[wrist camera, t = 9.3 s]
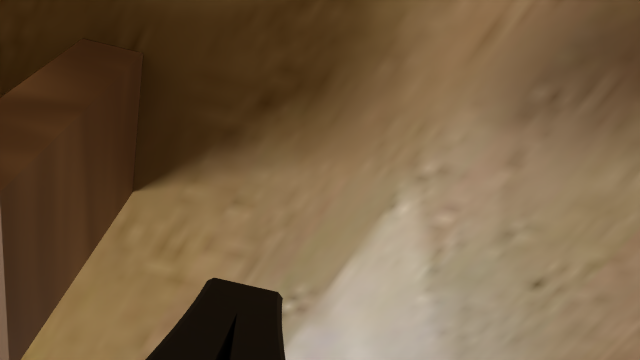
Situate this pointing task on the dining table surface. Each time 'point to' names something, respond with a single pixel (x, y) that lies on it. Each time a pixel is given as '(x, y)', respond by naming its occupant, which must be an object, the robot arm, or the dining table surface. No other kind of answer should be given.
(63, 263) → the walnut domino
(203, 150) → the dining table surface
